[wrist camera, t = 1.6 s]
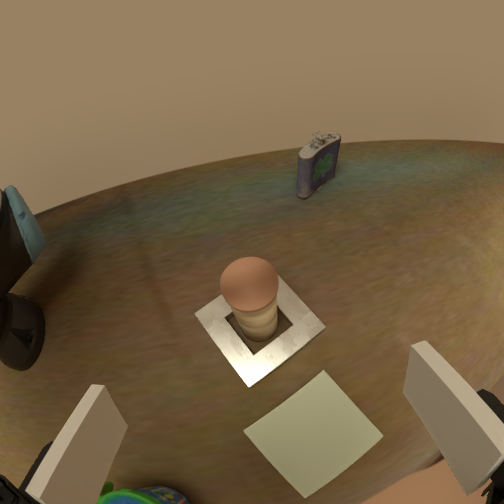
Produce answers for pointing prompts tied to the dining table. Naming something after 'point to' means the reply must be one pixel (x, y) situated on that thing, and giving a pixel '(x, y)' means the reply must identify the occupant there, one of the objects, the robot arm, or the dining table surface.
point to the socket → (273, 353)
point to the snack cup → (140, 495)
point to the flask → (317, 163)
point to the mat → (314, 435)
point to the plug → (252, 296)
